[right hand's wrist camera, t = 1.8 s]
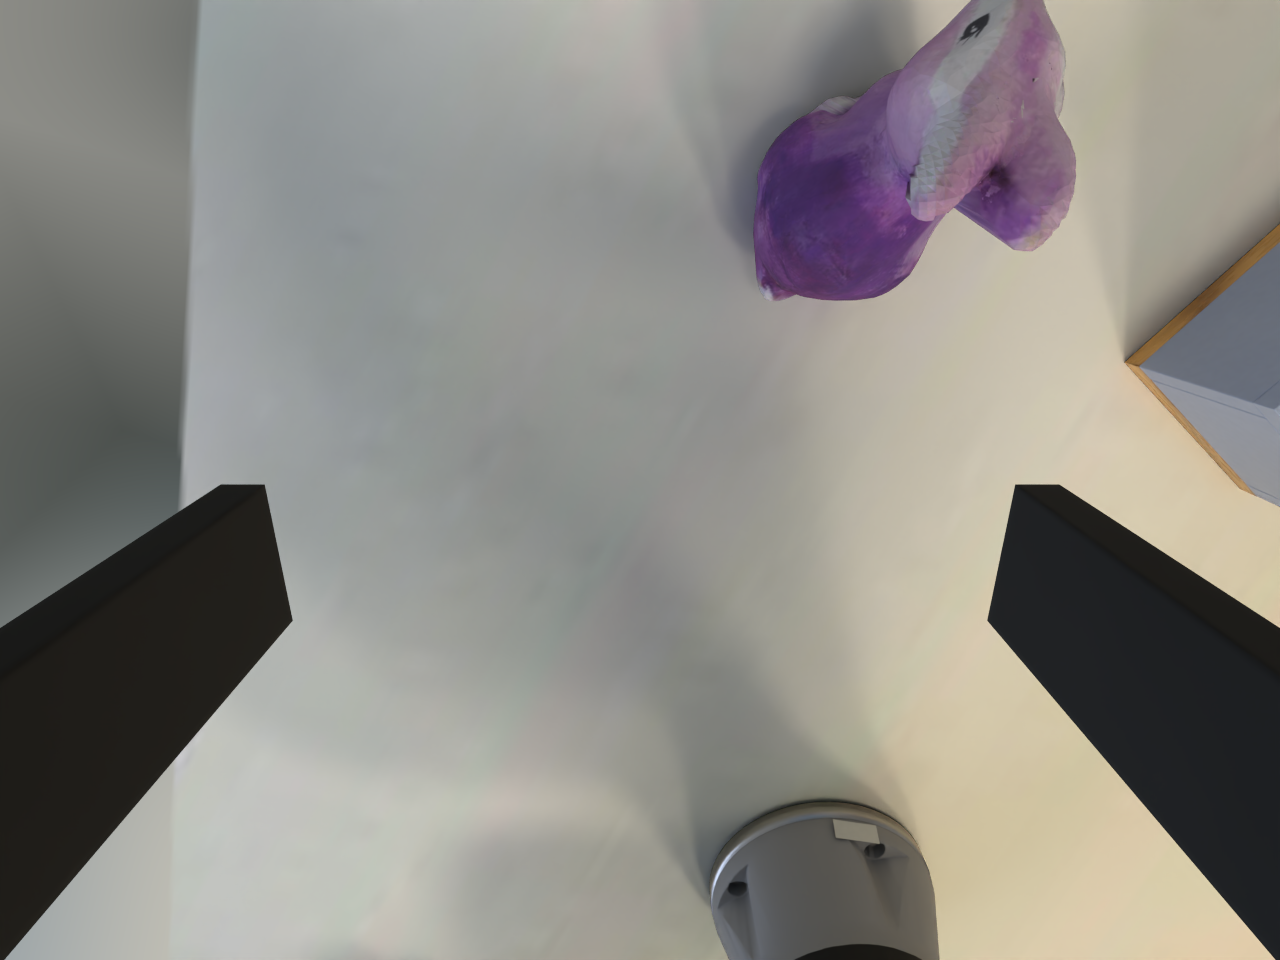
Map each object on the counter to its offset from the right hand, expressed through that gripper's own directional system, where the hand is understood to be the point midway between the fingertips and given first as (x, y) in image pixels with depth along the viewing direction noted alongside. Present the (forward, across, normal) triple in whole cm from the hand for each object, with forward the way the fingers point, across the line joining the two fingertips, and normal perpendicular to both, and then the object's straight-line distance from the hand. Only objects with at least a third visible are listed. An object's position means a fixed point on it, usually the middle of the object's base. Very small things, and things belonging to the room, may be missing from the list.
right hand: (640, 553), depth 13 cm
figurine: (+25, -10, -7) cm, 28 cm away
